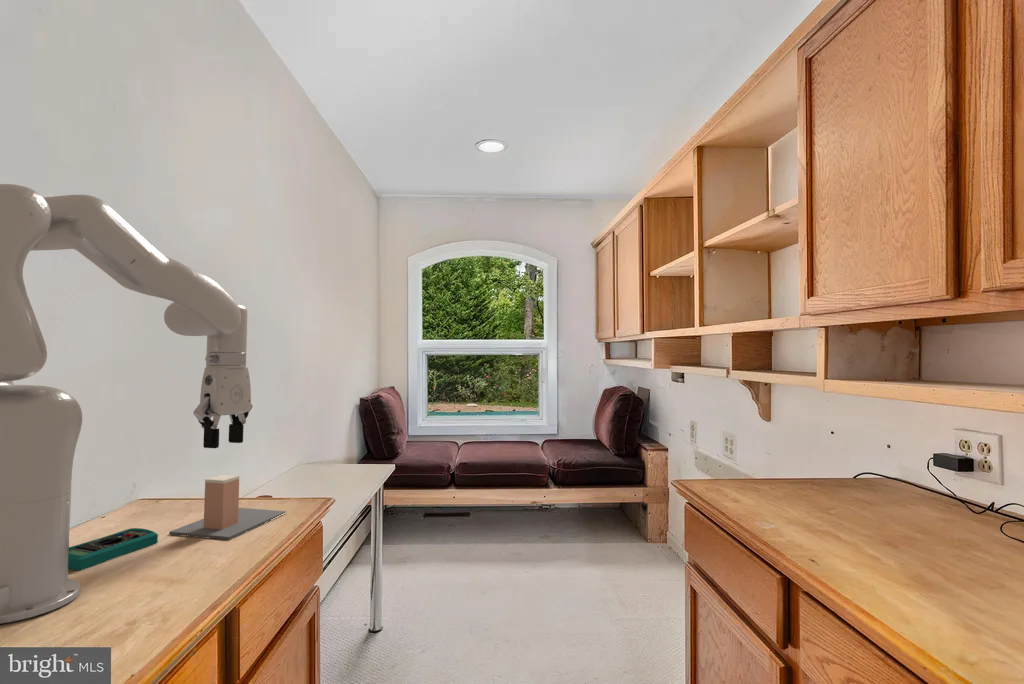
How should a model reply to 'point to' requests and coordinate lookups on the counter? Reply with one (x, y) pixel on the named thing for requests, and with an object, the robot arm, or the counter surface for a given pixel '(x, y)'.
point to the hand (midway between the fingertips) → (223, 444)
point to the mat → (245, 523)
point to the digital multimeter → (109, 547)
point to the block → (221, 501)
